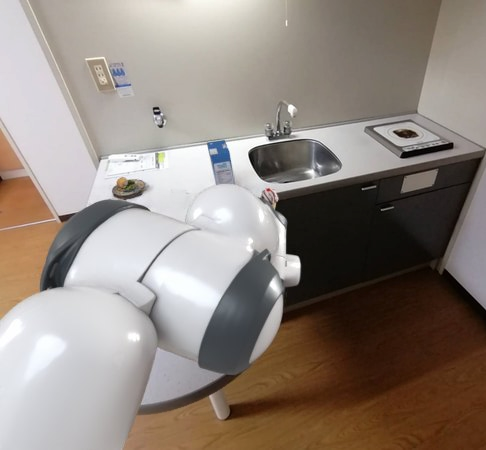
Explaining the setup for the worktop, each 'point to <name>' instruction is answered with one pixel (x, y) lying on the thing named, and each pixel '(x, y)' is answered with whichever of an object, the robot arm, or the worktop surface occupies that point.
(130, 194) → the garnished food dish
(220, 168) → the milk carton
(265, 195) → the ice cream cone
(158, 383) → the worktop surface
